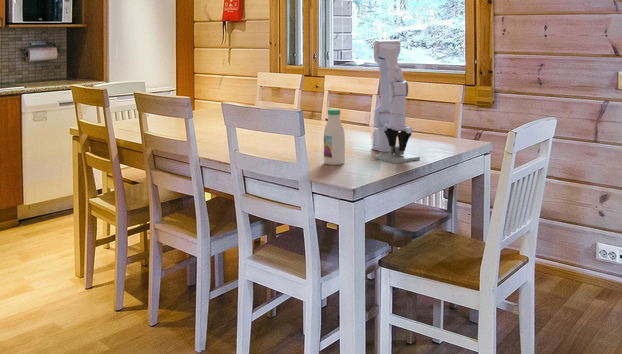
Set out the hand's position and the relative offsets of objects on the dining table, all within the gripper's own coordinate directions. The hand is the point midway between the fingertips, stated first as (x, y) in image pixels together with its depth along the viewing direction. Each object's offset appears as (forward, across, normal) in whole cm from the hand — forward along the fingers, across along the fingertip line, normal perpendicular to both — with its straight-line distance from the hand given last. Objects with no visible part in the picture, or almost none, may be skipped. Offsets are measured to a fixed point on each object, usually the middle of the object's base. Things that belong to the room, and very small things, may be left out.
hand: (397, 149), depth 244 cm
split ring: (+2, 0, 0) cm, 2 cm away
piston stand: (+4, 0, 0) cm, 4 cm away
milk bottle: (+4, -7, -24) cm, 25 cm away
